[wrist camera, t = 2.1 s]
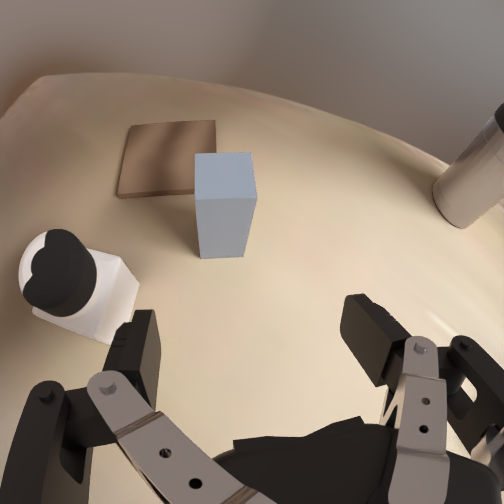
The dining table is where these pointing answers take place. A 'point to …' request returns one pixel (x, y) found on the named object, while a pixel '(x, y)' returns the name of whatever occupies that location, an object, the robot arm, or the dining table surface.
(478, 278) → the dining table surface
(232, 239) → the block
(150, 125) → the board
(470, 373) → the robot arm
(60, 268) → the medicine bottle
